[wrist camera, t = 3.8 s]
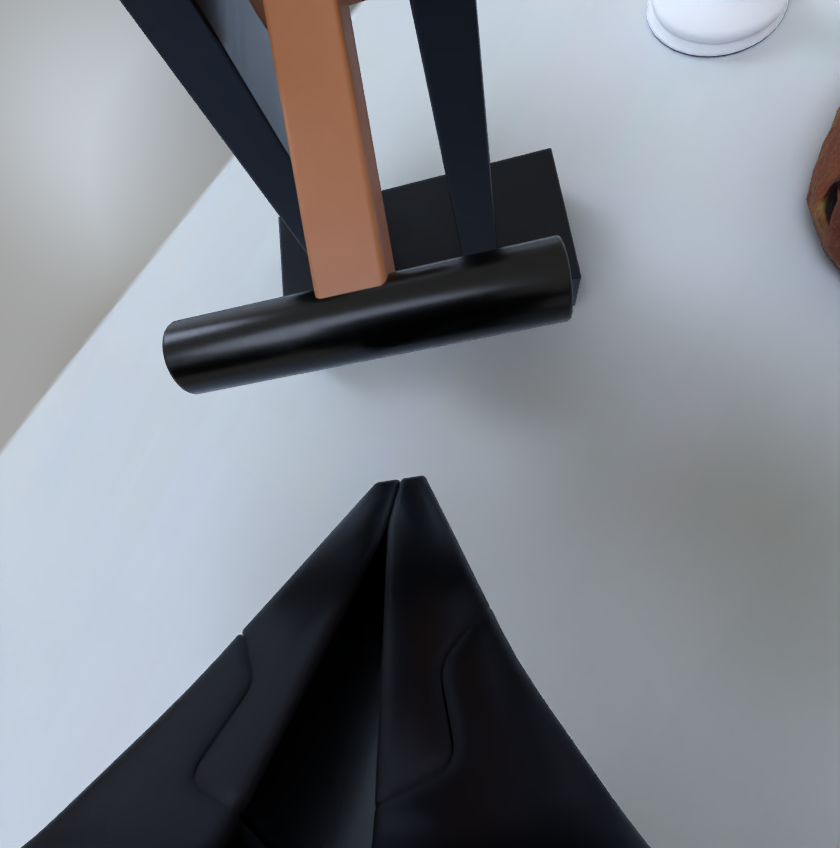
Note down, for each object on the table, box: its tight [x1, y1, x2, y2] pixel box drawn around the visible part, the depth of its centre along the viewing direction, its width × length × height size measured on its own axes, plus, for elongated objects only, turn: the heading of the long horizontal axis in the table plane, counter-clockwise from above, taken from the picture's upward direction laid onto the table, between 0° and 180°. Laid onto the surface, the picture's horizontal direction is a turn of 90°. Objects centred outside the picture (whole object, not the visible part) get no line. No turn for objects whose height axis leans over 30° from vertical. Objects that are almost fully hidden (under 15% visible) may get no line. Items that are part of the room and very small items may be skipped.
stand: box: [120, 0, 581, 306], centre depth 12 cm, size 5×10×14 cm, turn 97°
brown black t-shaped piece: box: [163, 0, 573, 394], centre depth 7 cm, size 9×6×2 cm, turn 7°
